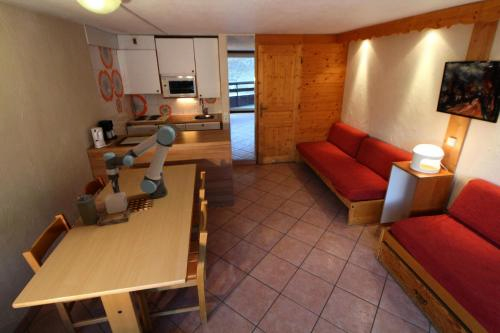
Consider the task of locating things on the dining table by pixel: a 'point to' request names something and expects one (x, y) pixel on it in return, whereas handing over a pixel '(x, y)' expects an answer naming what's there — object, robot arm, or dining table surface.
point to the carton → (116, 202)
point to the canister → (87, 209)
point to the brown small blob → (100, 206)
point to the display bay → (113, 221)
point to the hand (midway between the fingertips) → (119, 200)
